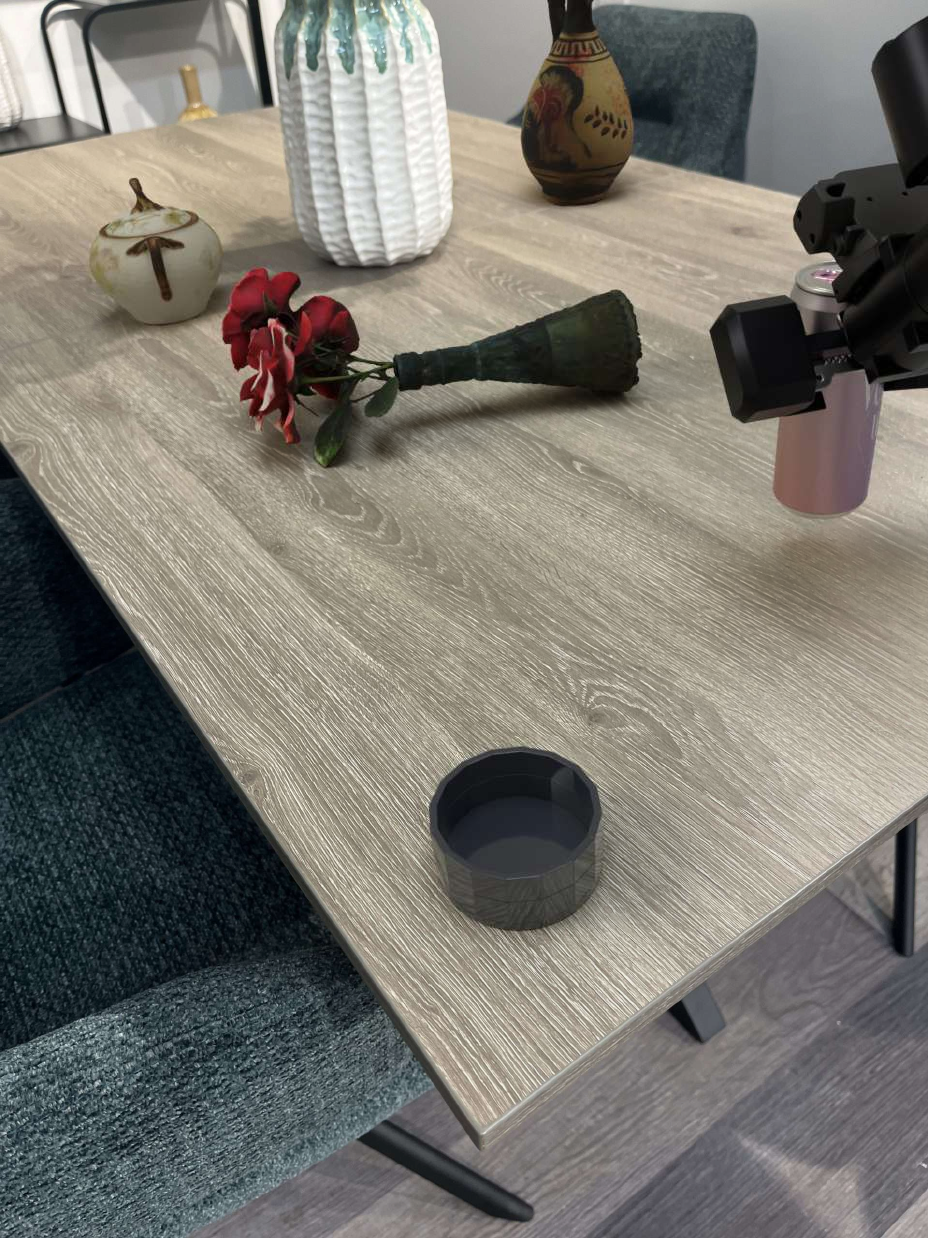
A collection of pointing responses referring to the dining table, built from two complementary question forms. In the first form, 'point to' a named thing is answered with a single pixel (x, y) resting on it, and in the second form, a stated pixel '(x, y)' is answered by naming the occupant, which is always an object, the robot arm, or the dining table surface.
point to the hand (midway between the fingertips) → (819, 392)
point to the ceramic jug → (576, 112)
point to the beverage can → (827, 421)
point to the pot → (517, 837)
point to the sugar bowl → (157, 261)
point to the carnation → (410, 355)
